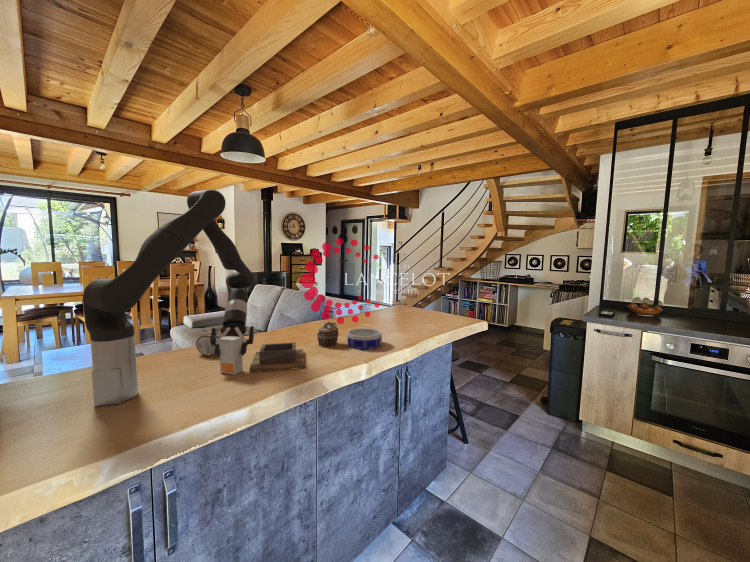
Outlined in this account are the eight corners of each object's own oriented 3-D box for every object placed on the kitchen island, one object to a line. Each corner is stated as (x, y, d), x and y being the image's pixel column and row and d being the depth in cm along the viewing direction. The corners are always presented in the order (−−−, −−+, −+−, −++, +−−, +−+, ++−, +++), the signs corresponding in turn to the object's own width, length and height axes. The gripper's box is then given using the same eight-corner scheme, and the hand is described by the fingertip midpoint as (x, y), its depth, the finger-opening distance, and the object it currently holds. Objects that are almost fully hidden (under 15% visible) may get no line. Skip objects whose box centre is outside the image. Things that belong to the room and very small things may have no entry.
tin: (235, 354, 124) (234, 333, 123) (231, 357, 120) (230, 335, 120) (200, 353, 125) (199, 332, 124) (195, 355, 122) (194, 334, 121)
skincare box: (219, 373, 104) (218, 338, 103) (229, 368, 108) (227, 335, 107) (234, 375, 102) (233, 340, 101) (243, 370, 106) (242, 336, 105)
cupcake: (323, 340, 144) (323, 319, 143) (342, 342, 141) (342, 321, 140) (312, 346, 135) (312, 323, 134) (332, 348, 132) (332, 325, 131)
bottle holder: (303, 368, 109) (303, 352, 108) (249, 372, 104) (249, 356, 104) (303, 352, 126) (302, 339, 126) (256, 355, 122) (256, 342, 121)
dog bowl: (355, 339, 147) (355, 326, 147) (385, 342, 143) (385, 329, 142) (341, 348, 133) (341, 334, 132) (375, 351, 128) (375, 337, 128)
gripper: (212, 309, 109) (203, 351, 98) (255, 307, 112) (251, 348, 102) (216, 321, 114) (209, 362, 104) (257, 319, 118) (254, 358, 107)
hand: (230, 355), depth 103 cm, fingers closed on skincare box, 7 cm apart
